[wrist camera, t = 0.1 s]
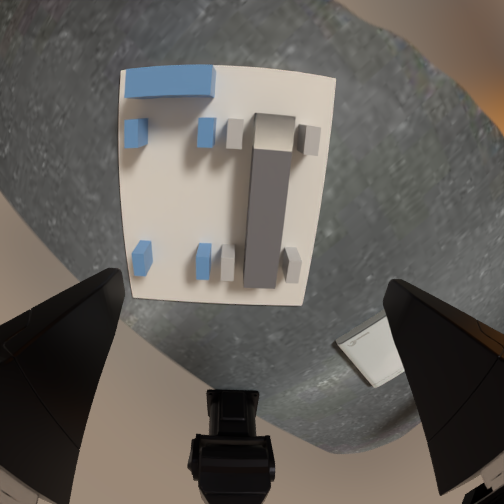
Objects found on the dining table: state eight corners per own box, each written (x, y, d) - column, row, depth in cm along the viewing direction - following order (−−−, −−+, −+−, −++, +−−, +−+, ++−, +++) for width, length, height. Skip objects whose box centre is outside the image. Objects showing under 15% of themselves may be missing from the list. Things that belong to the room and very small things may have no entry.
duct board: (301, 303, 27) (308, 327, 24) (134, 295, 26) (123, 318, 23) (334, 79, 18) (351, 74, 15) (122, 70, 17) (103, 65, 14)
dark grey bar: (272, 272, 25) (275, 288, 23) (242, 271, 25) (243, 287, 23) (289, 116, 19) (295, 116, 17) (254, 112, 19) (256, 112, 17)
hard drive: (337, 346, 29) (374, 389, 34) (402, 304, 27) (425, 358, 32) (333, 336, 31) (371, 381, 35) (396, 295, 29) (421, 350, 33)
